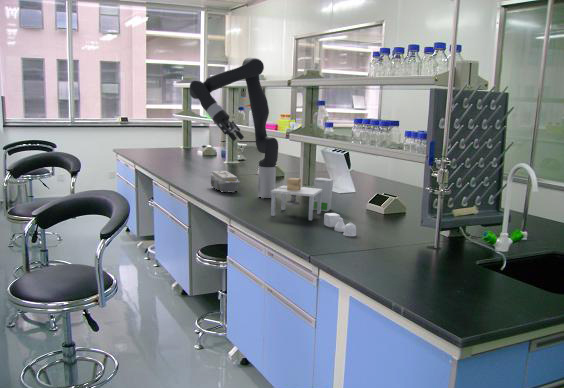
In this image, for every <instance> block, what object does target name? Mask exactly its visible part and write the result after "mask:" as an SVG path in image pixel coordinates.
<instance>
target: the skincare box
mask: <svg viewBox="0 0 564 388" xmlns="http://www.w3.org/2000/svg"><path fill="white" fill-rule="evenodd" d="M333 184H334V179H333V178H327V177H326V178H325V177H316V178H314V186H313V188H317V189H322V199H321V212H327V213H329V211H330V210H331V208H332V199H333V198H332V196H333ZM317 202H318V194H317V195H315V196H314V199H313V211H317Z"/></svg>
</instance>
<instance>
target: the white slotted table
mask: <svg viewBox="0 0 564 388" xmlns="http://www.w3.org/2000/svg"><path fill="white" fill-rule="evenodd" d="M271 193H272V196H271V199H270V200H271V201H270V202H271V204H270V206H271V207H270V216H271V217H275V216H276V202H277V201H276V199H277V198H276V196H277V195H276V194H280V195H281V206H280V207H281V208H280V210H281V211H286V196H287V195H296V196H300V197H301V196H303V197H309V199H308V200H309V201H308V221H313V218H314V210H313V199H314V196H315V195H317V194H318V202H317V210H316V214H317V215H321V214H322V211H321V199H322V189H317V188H314V187H306V186H305V187H304V186H301V189H300V190H298V191H295V190H287V185H281V186H278V187H277V188H276V187H275V189H274V190H271Z"/></svg>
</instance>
